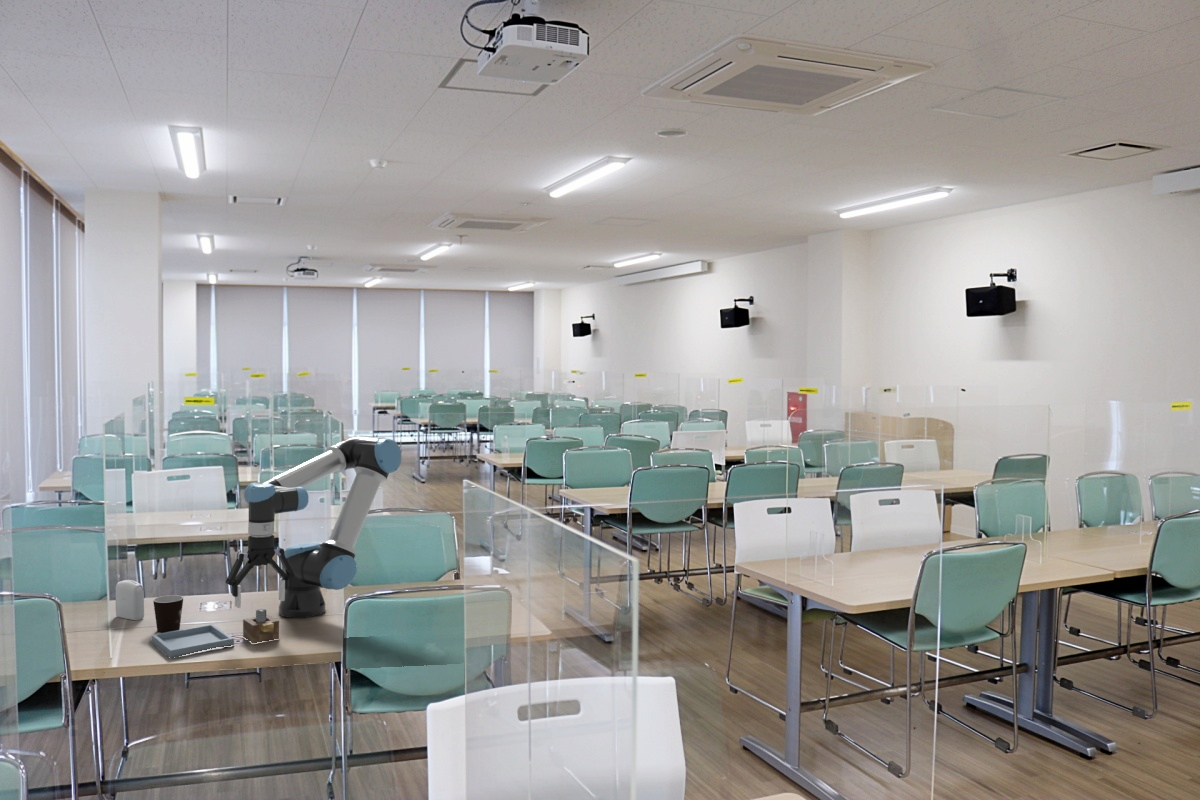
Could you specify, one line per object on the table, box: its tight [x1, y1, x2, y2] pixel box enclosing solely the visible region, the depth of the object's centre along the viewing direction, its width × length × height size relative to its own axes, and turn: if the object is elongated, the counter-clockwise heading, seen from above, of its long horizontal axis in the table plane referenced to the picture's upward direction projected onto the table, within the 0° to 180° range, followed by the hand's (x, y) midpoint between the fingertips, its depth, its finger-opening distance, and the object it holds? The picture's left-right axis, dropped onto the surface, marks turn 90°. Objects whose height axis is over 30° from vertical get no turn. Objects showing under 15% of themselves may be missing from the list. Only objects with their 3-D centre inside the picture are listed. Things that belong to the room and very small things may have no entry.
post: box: [255, 608, 267, 623], centre depth 283 cm, size 3×3×9 cm
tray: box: [151, 623, 235, 659], centre depth 277 cm, size 18×18×2 cm
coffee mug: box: [152, 594, 184, 634], centre depth 291 cm, size 12×9×10 cm
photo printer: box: [114, 579, 145, 621], centre depth 301 cm, size 10×4×12 cm, turn 63°
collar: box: [242, 614, 280, 643], centre depth 282 cm, size 8×10×6 cm
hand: (260, 603), depth 282 cm, fingers open, 13 cm apart
